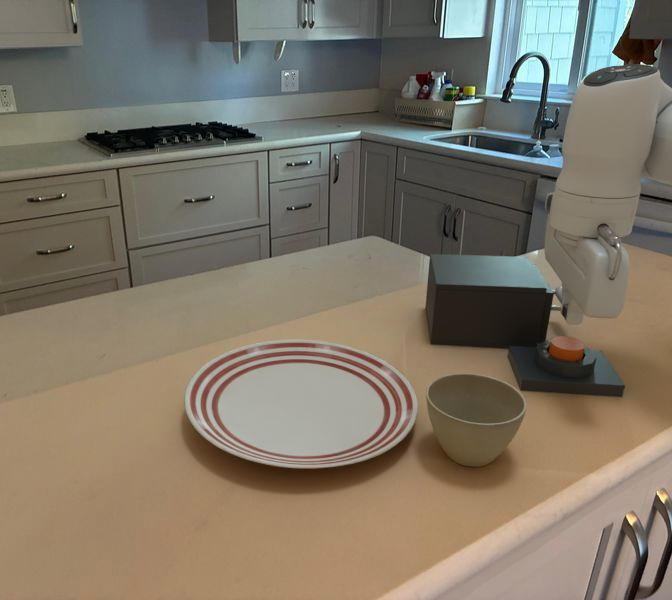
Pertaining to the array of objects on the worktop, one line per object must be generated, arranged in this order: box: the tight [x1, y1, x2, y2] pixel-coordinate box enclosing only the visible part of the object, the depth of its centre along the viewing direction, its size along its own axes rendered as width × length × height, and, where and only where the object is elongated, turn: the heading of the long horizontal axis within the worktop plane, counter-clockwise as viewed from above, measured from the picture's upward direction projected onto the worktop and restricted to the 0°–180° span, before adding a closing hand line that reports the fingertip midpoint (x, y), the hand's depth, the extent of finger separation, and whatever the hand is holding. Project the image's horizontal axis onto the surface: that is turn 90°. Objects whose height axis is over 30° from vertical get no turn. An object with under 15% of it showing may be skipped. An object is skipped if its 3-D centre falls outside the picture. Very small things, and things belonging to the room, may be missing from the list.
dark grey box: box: [424, 253, 547, 350], centre depth 92 cm, size 15×13×10 cm
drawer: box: [531, 263, 562, 344], centre depth 91 cm, size 18×11×8 cm, turn 81°
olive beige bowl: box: [425, 372, 528, 468], centre depth 65 cm, size 10×10×7 cm
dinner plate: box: [183, 339, 419, 469], centre depth 74 cm, size 27×27×3 cm
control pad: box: [507, 339, 626, 398], centre depth 80 cm, size 12×9×4 cm
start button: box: [549, 335, 586, 361], centre depth 79 cm, size 4×4×2 cm
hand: (570, 319), depth 78 cm, fingers closed
